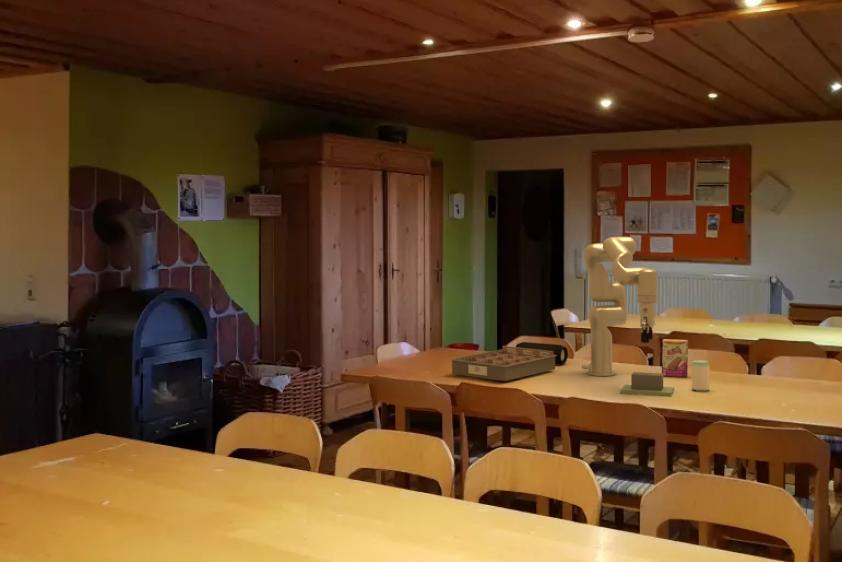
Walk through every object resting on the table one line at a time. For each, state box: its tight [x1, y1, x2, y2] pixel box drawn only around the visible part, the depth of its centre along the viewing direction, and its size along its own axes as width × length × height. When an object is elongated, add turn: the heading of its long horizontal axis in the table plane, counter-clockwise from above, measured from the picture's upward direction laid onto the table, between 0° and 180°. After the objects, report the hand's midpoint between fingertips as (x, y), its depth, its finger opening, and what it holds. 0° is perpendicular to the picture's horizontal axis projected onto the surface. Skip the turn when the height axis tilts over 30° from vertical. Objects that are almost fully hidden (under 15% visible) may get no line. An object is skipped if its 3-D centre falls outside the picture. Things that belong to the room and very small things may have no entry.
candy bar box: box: [661, 338, 689, 378], centre depth 384 cm, size 11×5×16 cm, turn 71°
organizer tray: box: [450, 345, 557, 382], centre depth 398 cm, size 32×40×10 cm
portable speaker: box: [515, 341, 569, 365], centre depth 427 cm, size 26×10×10 cm, turn 55°
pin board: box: [619, 384, 675, 397], centre depth 350 cm, size 20×12×5 cm, turn 68°
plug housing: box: [630, 371, 664, 391], centre depth 350 cm, size 12×6×6 cm, turn 68°
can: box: [691, 359, 711, 392], centre depth 353 cm, size 7×7×12 cm
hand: (646, 340), depth 352 cm, fingers open, 9 cm apart
